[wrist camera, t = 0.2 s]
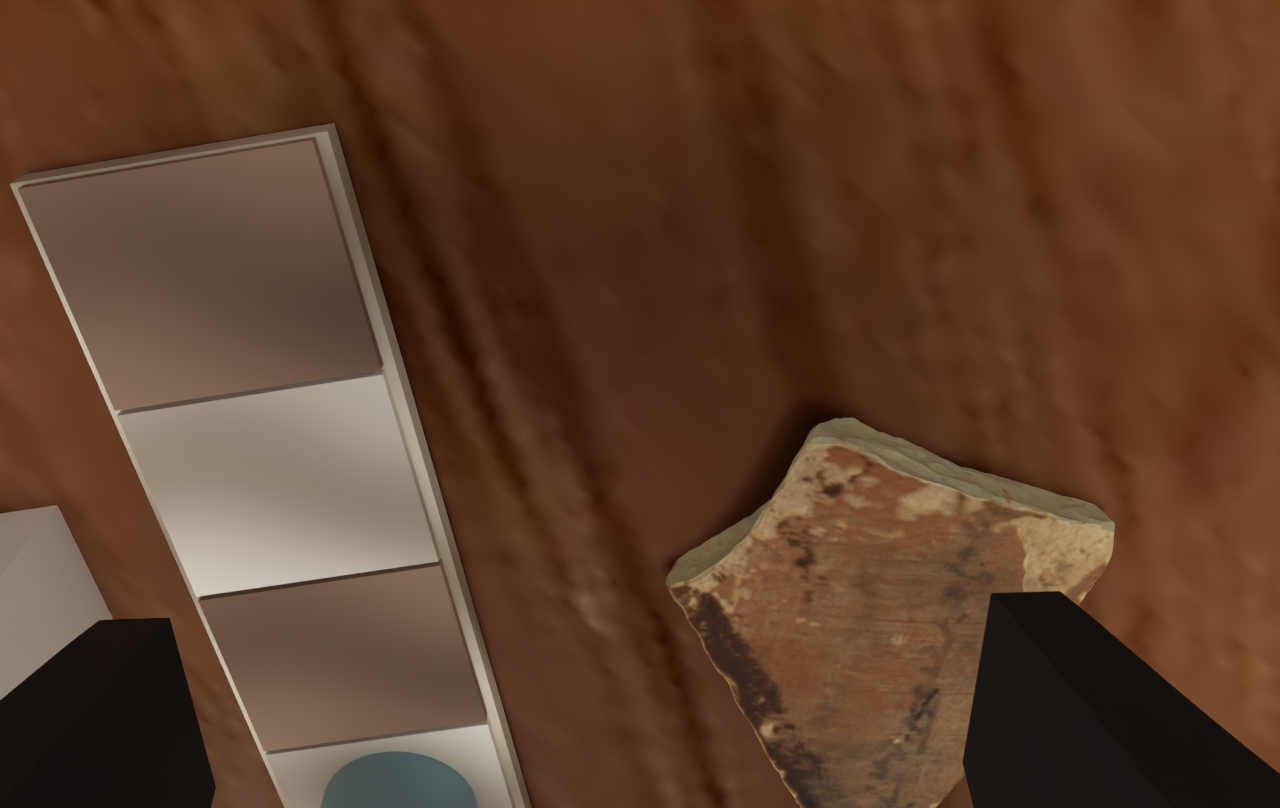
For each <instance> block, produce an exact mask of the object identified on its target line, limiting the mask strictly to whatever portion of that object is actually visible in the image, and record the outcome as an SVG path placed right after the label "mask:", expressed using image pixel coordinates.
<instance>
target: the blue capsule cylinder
mask: <svg viewBox="0 0 1280 808" xmlns="http://www.w3.org/2000/svg"><path fill="white" fill-rule="evenodd" d="M321 808H477V802H476V798H475V795H474V792H473V790H472V788H471V787H470V785H469V784H468V782H467V781H466V780H465V779H464V778H463V777H462V776H461V775H460V774H459V773H458V772H457V771H456V770H454V769H453V768H451V767H450V766H448V765H446V764H445V763H443V762H441V761H439V760H436V759H434V758H431V757H428V756H425V755H421V754H416V753H411V752H401V751H390V752H380V753H374V754H370V755H366V756H363V757H360V758H358V759H356V760H353V761H352V762H350V763H348V764H346V765H345V766H344V767H342V768H341V769H340V770H338V771H337V773H336V774H335V775H334V776H333V777H332V778H331V780H330V781H329V783H328V785H327V787H326V790H325V793H324V797H323V801H322V804H321Z"/></svg>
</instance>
